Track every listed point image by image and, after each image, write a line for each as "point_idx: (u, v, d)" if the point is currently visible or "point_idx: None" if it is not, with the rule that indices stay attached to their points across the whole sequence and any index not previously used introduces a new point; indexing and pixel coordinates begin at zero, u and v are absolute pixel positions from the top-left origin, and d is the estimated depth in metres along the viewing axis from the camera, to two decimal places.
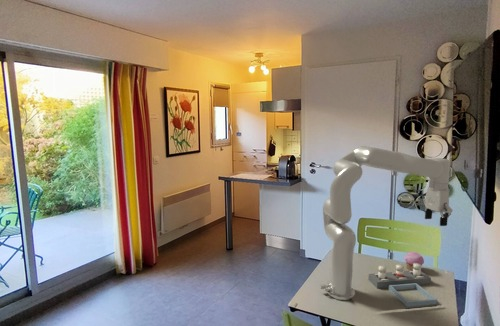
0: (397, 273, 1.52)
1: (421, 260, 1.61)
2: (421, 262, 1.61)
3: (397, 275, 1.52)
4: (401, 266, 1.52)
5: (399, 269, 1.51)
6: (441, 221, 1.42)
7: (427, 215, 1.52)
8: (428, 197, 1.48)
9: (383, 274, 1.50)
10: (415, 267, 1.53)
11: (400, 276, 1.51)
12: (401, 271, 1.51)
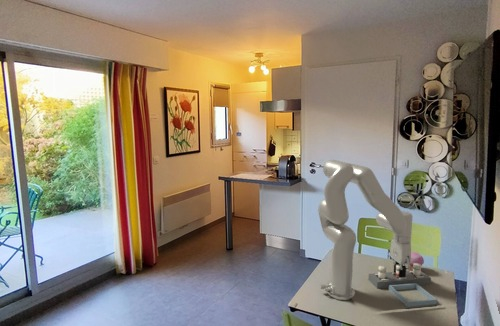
0: (397, 273, 1.52)
1: (421, 260, 1.61)
2: (421, 262, 1.61)
3: (397, 275, 1.52)
4: None
5: None
6: (400, 273, 1.50)
7: None
8: (392, 248, 1.53)
9: (383, 274, 1.50)
10: (415, 267, 1.53)
11: None
12: None
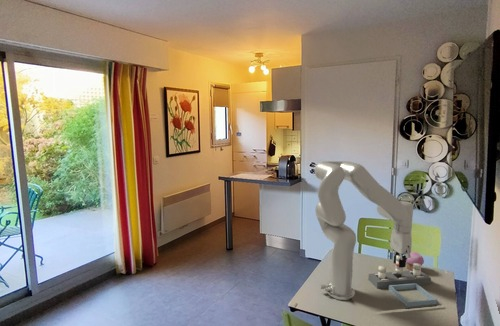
0: (397, 263, 1.51)
1: (421, 260, 1.61)
2: (421, 262, 1.61)
3: (397, 265, 1.51)
4: None
5: None
6: (400, 263, 1.50)
7: None
8: (393, 238, 1.52)
9: (383, 274, 1.50)
10: (415, 267, 1.53)
11: None
12: None
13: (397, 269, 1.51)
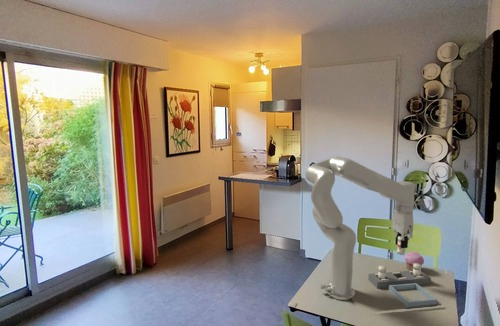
0: (399, 244, 1.50)
1: (421, 260, 1.61)
2: (421, 262, 1.61)
3: (399, 246, 1.50)
4: None
5: None
6: (402, 244, 1.48)
7: (397, 241, 1.52)
8: (394, 219, 1.51)
9: (383, 274, 1.50)
10: (415, 267, 1.53)
11: None
12: None
13: (399, 250, 1.50)
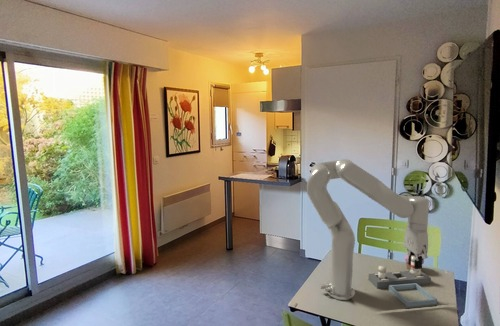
0: (412, 265, 1.38)
1: None
2: None
3: (412, 267, 1.38)
4: None
5: None
6: (415, 264, 1.36)
7: (410, 261, 1.40)
8: (407, 237, 1.39)
9: (383, 274, 1.50)
10: None
11: None
12: None
13: (413, 271, 1.38)
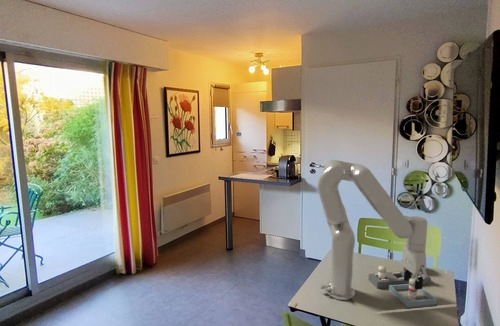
0: (410, 288, 1.39)
1: None
2: None
3: (410, 290, 1.40)
4: None
5: (413, 284, 1.38)
6: (416, 285, 1.36)
7: (406, 277, 1.43)
8: (405, 256, 1.40)
9: (383, 274, 1.50)
10: None
11: (413, 291, 1.39)
12: None
13: (410, 294, 1.40)
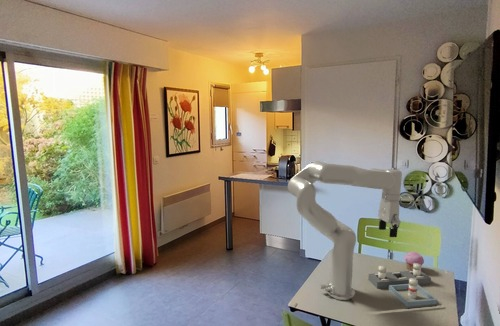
0: (410, 288, 1.40)
1: (421, 260, 1.61)
2: (421, 262, 1.61)
3: (410, 290, 1.40)
4: (415, 280, 1.40)
5: (413, 284, 1.39)
6: (391, 232, 1.42)
7: (381, 226, 1.52)
8: (381, 208, 1.48)
9: (383, 274, 1.50)
10: (415, 267, 1.53)
11: (414, 291, 1.39)
12: (415, 286, 1.39)
13: (410, 294, 1.40)
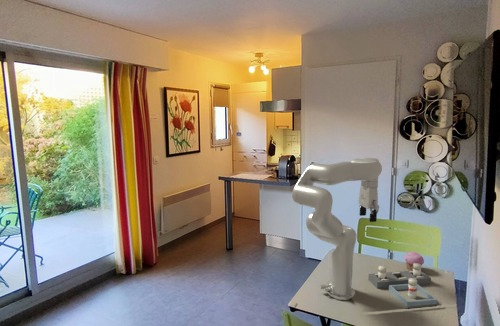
0: (410, 288, 1.40)
1: (421, 260, 1.61)
2: (421, 262, 1.61)
3: (410, 290, 1.40)
4: (414, 279, 1.40)
5: (412, 284, 1.39)
6: (370, 217, 1.50)
7: (361, 212, 1.60)
8: (361, 195, 1.56)
9: (383, 274, 1.50)
10: (415, 267, 1.53)
11: (413, 291, 1.39)
12: (414, 285, 1.39)
13: (410, 294, 1.40)
